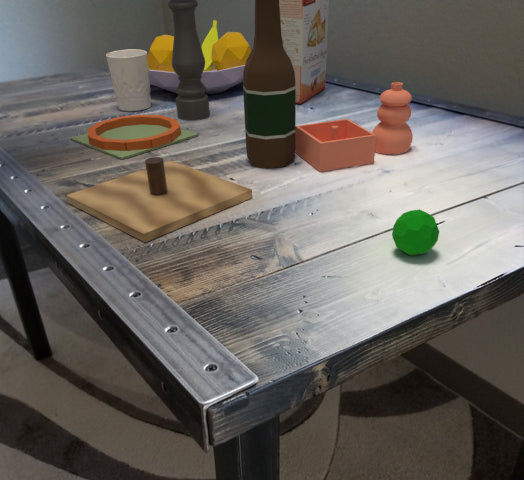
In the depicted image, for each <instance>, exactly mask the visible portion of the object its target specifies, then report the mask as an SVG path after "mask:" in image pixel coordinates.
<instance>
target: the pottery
mask: <svg viewBox="0 0 524 480" xmlns="http://www.w3.org/2000/svg"><path fill="white" fill-rule="evenodd" d="M403 84H404V83H403V82H401V81H393V82H391V85H390V86H391V87H390V88H389V89H386V90H385V91H383V92H381V94H380V96H379V101H380V103H381V104H380V106H379V107H378V109H377V112H376V116H377V118H378V120H379V123H377V124H376V125H375V126H374V128H373V129H372V131H370V130H368V129H367V128H365V127H363V126H361V125H359V124H357V123H355V122H354V121H352V120H350V119H349V118H343V119H335V120H328V121H322V122H315V123H308V124H300V125H295V155H297V156H299V158H301V159H303V160H304V161H305V162H306V163H308V164H309V166H311V167H312V168H314V169H315V170H316V171H317V172H318V173H323V172H328V171H335V170H342V169H347V168H354V167H360V166H365V165H372V164H375V155H376V153H377V154H382V155H390V154H394V155H400V154H399V153H402V154H405V153H408V152H409V151H410V148H411V146H412V143H413V139H414V138H413V136H414V135H413V131H412V129H411V126H410V125H409V124H408V123H407V122H408V121H410V119H411V116H412V108H411V106H410V105H409V104H410V103H411V102H412V99H413V98H412V94H411V92H409V91H408V90H406V89H403ZM408 150H409V151H408ZM404 152H405V153H404Z"/></svg>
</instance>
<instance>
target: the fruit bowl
mask: <svg viewBox="0 0 524 480" xmlns="http://www.w3.org/2000/svg"><path fill="white" fill-rule="evenodd" d="M218 24H219V23H218V20H216V19H214V20H213V21H212V24H211V25H212V26H211V28H210V30H209V32H208V33H207V35H206V37H205V38H204V40H203V42H202V43H201V44H200V45H201V48H202V51H203V55H204V58H205V68H204V71H203V73H202V74H201V76H202V78H201V82H202V83H203V84H204V86H205V87H206V92H205V94H206V95H209V94H210V95H212V94H222V93H223V92H225V91H227V90H230V89H232V88H233V87H235V86H237V85H239V84H241V83H243V71H244V68H245V64H246V60H247V58H248V56H249V55H250V53H251V51H252V48H251V46H250V44H249V43H248V41H247V39H246V38H245V37H244V35H243V33H241V32H240V31H227V32H226V33H224V34H223V35H222V36H221V37H220V38H219V31H218ZM173 43H174V35H170V34H166V33H165V34H162V35H161V34H160V35H159V36H156V37H154V40H153V41H152V43H151V44H150V47H149V50H148V53H147V58H148V68H149V80H150V86H151V85H152V86H154V87H157V88H160V89H163V90H165V91H167V92H171V93H174V94H177V92H176V89H177V88H178V85H179V83H180V80H179V79H178V77H179V76H178V75H177V74H176V73H175V71H174V69H173V67H172V54H173ZM177 95H178V94H177Z"/></svg>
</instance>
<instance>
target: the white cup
mask: <svg viewBox="0 0 524 480" xmlns="http://www.w3.org/2000/svg"><path fill="white" fill-rule="evenodd" d="M147 56H148V51H147V50H145V49H137V48H135V49H133V48H132V49H120V50H114V51H113V50H112V51H110V52H107V53H106V54H105V57H106V62H107V66H108V71H109V76H110V81H111V85H112V88H113V93H114V95H115V99H116V100H115V101H116V105H117V109H118V110H119V111H122V112H138V111H139V112H140V111H143V110H147V109H150V108H151V107H152V100H151V84H150V80H149V68H148V58H147Z"/></svg>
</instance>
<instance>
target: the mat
mask: <svg viewBox="0 0 524 480" xmlns="http://www.w3.org/2000/svg"><path fill="white" fill-rule="evenodd" d="M168 129H170V128H166V127H163V126H160V125H144V124H140V125H131V126H122V127H118V128H115V129H111V130H107V131H105V132H104V133H102V134H101V135H99V136H101V137H104V138H107V139H120V140H130V139H139V138H148V137H151V136H154V135H158V134H161V133H165V132H166V131H167V130H168ZM197 137H199V133H197V132H195V131H194V132H193V131H190V130H187V129H183V128H181V135H180V136H179V137H177V138H176V139H175V140H174V141H173V142H170V143H167V144H164V145H160V146H157V147H154V148H152V147H151V148H148V149H140V150H131V151H127V150H126V151H119V150H104V149H101V148H98V147H96V146H93V145H90V144H89V139H88V132H86V133H83V134H80V135H76V136H72V137H70V141H73V142H76V143H78V144H80V145H83V146H86V147H88V148H91V149H93V150H95V151H98V152H101V153H104V154H106V155H109V156H111V157H114V158H117V159H119V160H122V161H123V160H127V159H130V158H132V157H136V156H139V155H142V154H146V153H148V152H152V151H155V150H159V149H162V148H164V147H167V146H172V145H174V144H178V143H180V142H184V141H187V140H190V139H193V138H197Z"/></svg>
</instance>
